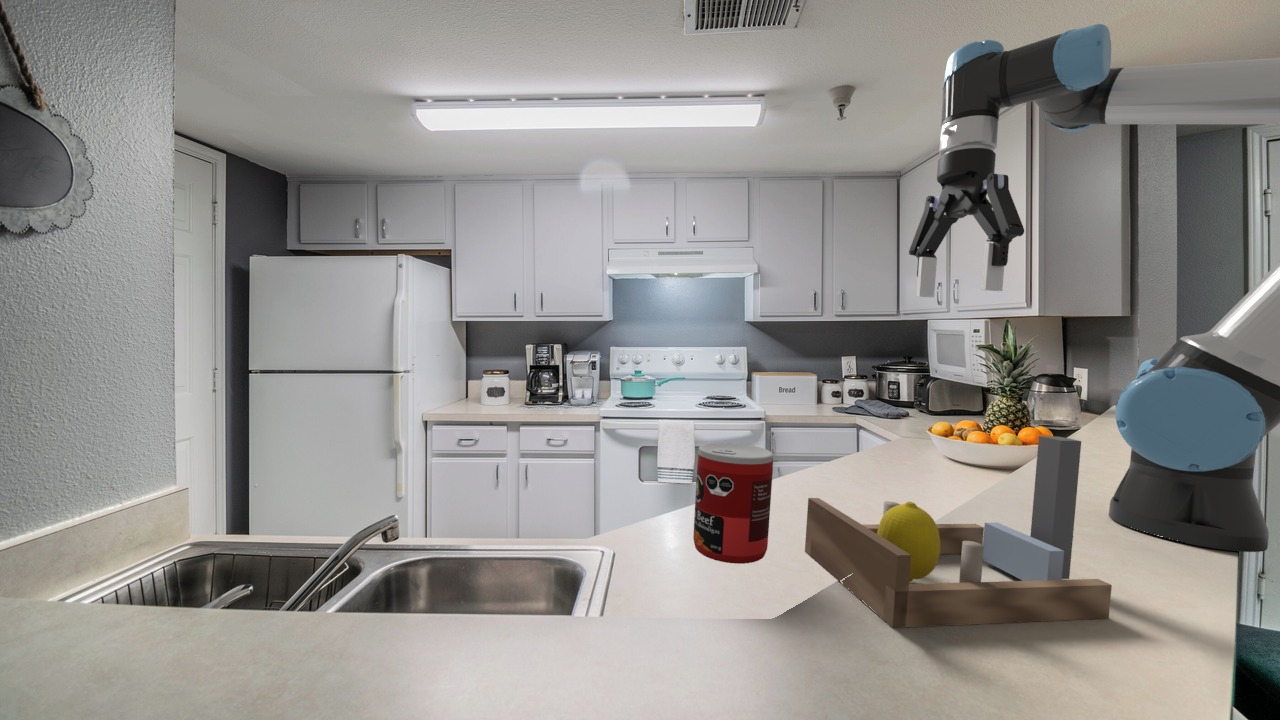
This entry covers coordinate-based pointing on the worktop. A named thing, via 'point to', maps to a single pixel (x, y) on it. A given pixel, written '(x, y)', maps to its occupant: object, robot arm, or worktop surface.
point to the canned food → (732, 502)
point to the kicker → (1042, 518)
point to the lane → (938, 604)
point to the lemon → (912, 536)
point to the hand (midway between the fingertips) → (955, 294)
